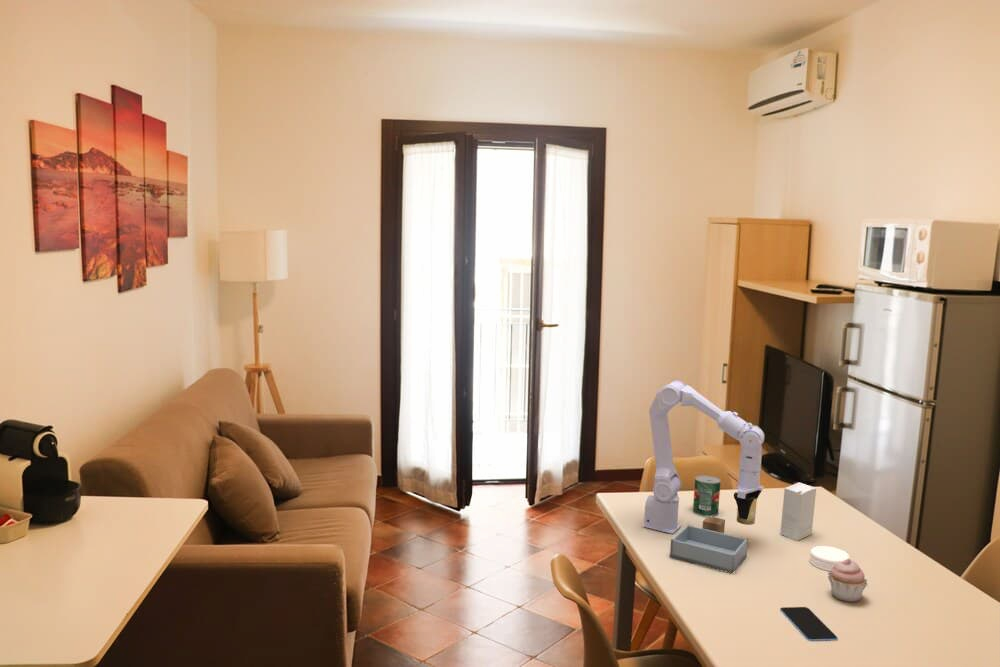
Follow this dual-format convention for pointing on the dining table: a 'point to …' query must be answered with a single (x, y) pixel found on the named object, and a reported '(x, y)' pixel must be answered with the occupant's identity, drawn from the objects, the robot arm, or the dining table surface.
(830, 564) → the white round disc
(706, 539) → the tote
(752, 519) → the brass cylinder
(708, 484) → the canned tomato
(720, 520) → the walnut cube
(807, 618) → the smartphone
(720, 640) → the dining table surface
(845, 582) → the cupcake
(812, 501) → the skincare box
